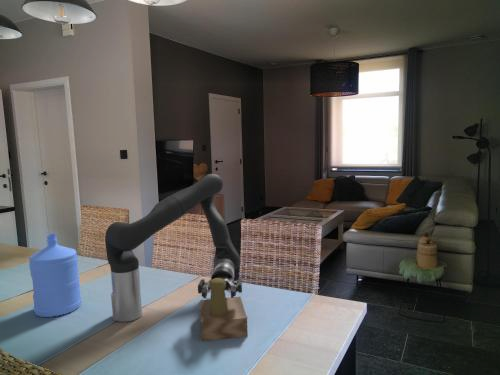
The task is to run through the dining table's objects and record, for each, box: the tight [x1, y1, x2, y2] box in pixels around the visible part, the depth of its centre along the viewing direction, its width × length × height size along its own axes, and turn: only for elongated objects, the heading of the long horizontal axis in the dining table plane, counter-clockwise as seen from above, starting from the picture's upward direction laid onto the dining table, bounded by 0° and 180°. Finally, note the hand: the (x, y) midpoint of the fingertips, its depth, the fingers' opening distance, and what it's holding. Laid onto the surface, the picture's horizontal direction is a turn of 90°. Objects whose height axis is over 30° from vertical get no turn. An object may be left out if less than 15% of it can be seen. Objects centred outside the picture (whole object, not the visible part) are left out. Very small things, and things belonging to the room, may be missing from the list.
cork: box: [209, 278, 228, 317], centre depth 116 cm, size 6×6×11 cm
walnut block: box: [199, 296, 249, 342], centre depth 120 cm, size 14×16×6 cm
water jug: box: [28, 233, 83, 318], centre depth 136 cm, size 16×16×28 cm
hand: (218, 295), depth 114 cm, fingers open, 8 cm apart
